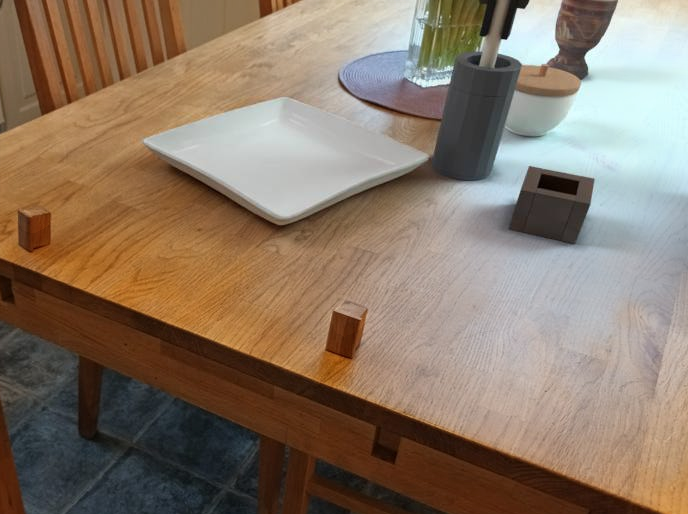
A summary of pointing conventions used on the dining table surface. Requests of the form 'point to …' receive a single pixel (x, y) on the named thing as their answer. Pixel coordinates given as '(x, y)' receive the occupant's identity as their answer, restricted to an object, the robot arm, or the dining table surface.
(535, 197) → the holder
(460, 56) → the dark grey cylindrical container
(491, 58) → the brush
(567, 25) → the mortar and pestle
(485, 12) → the robot arm
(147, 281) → the dining table surface
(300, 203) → the square plate
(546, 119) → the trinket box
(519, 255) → the dining table surface
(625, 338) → the dining table surface
